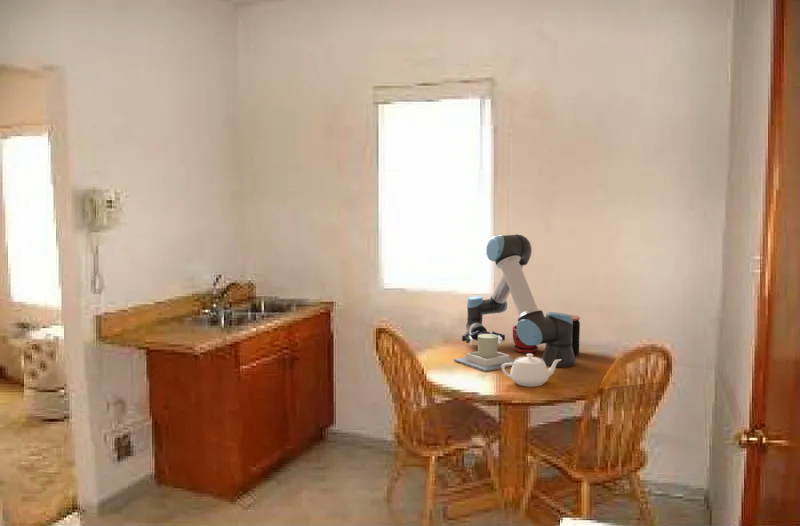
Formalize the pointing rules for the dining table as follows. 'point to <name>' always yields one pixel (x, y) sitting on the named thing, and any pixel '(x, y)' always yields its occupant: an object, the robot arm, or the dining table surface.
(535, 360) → the teapot
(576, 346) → the coffee jar
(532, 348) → the plant pot
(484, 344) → the can
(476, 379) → the dining table surface
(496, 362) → the tray
